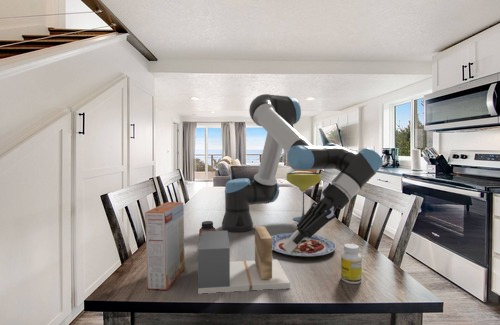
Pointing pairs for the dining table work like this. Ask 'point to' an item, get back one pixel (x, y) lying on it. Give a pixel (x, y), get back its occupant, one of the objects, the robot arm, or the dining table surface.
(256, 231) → the plate
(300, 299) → the dining table surface
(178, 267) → the cracker box
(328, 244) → the ceramic plate
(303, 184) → the cocktail glass
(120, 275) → the dining table surface
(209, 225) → the supplement bottle
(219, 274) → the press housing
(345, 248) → the supplement bottle
